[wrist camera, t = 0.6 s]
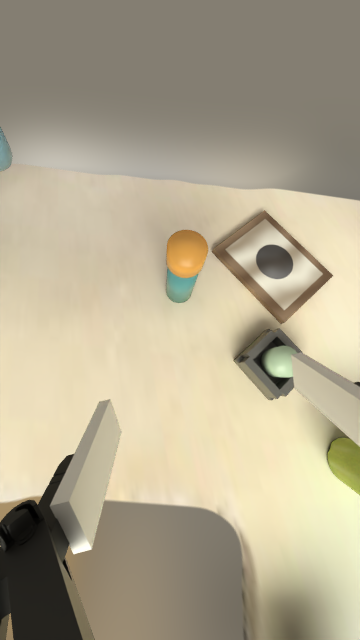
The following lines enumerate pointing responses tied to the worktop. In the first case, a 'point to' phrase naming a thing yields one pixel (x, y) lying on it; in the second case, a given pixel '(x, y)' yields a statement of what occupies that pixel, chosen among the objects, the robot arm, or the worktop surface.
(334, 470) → the plant pot
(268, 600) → the worktop surface
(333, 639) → the worktop surface
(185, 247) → the orange-topped post
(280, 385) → the button housing
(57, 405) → the worktop surface
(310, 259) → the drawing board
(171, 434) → the worktop surface
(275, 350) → the button
